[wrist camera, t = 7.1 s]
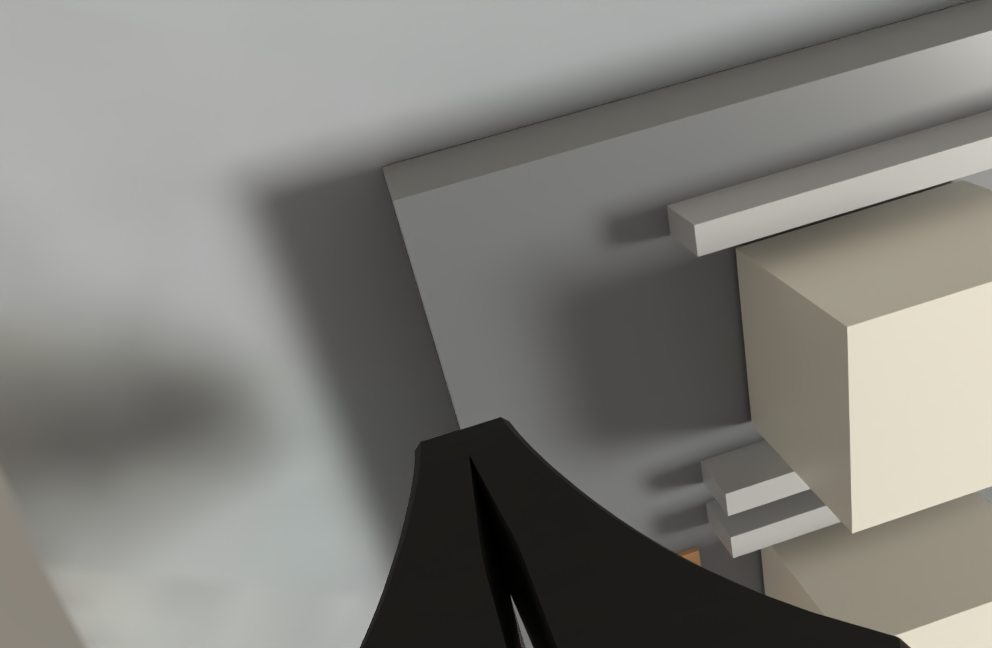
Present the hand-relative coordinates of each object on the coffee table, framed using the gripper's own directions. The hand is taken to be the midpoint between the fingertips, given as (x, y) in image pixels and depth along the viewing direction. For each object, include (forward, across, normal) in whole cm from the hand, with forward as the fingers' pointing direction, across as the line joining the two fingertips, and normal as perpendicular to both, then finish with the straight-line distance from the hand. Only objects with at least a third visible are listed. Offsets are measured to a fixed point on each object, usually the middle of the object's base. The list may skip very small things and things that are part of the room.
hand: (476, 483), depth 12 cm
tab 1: (+1, -7, 0) cm, 7 cm away
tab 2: (+1, -7, +6) cm, 9 cm away
